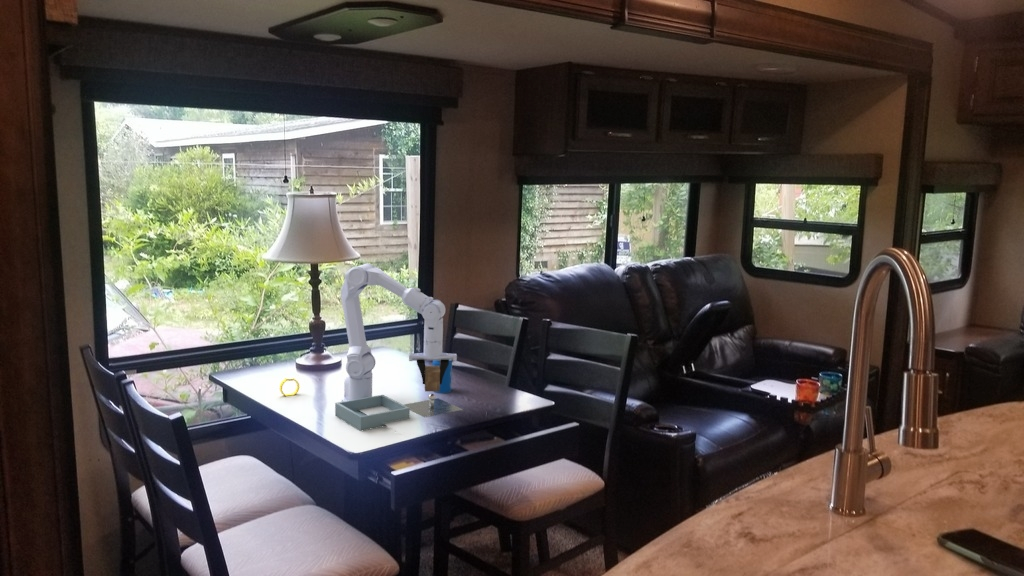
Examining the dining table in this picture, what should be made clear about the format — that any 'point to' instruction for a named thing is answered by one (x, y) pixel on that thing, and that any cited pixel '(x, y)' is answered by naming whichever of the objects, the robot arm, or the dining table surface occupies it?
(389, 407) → the bin
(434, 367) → the brown wooden block
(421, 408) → the stud base
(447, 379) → the beverage can
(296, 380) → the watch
